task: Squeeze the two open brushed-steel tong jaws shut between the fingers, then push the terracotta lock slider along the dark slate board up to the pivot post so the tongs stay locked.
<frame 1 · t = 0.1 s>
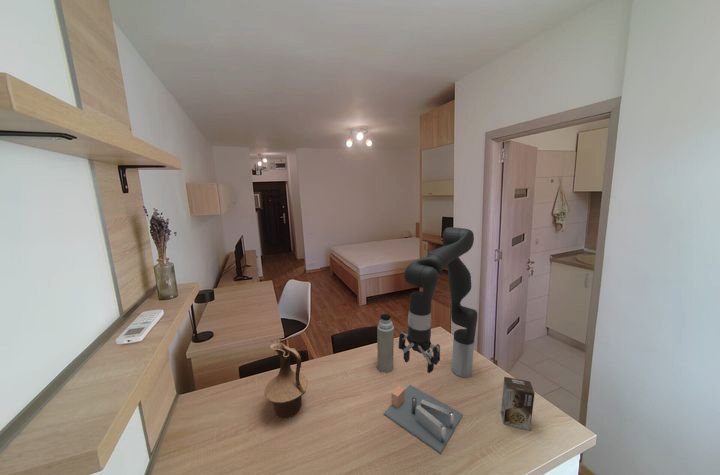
hand: (417, 366, 91), 29 cm above the table, fingers open, 8 cm apart
thermos bottle: (385, 367, 133), on the table
lock slider: (398, 396, 110), point 4 cm above the table, slide at 0.0 cm
pitcher: (288, 408, 110), on the table
jaw 2: (436, 413, 102), point 4 cm above the table, hinge at 10.0°
pivot post: (413, 414, 106), resting on slate board
slate board: (423, 415, 105), on the table
coffee box: (514, 420, 103), on the table
jaw 1: (430, 423, 98), point 4 cm above the table, hinge at 10.0°
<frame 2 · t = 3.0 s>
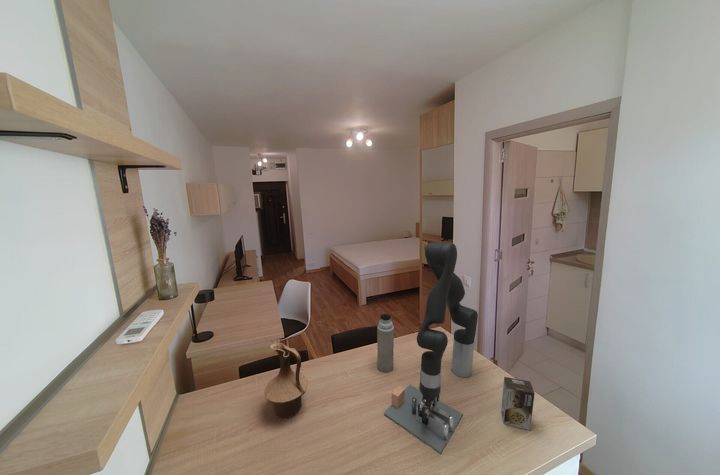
hand: (428, 418, 101), 2 cm above the table, fingers open, 5 cm apart
jaw 2: (436, 415, 101), point 4 cm above the table, hinge at 4.0°, touching gripper
jaw 1: (432, 422, 98), point 4 cm above the table, hinge at 4.2°, touching gripper
everything else where it was.
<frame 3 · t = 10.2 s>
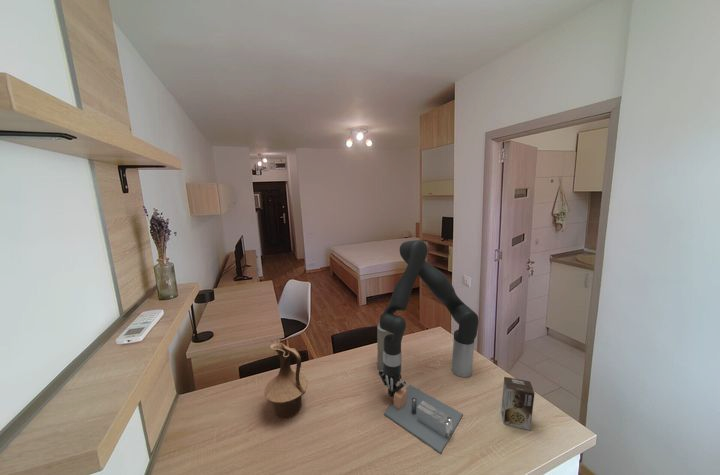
hand: (391, 395, 113), 2 cm above the table, fingers closed
lock slider: (400, 398, 109), point 4 cm above the table, slide at 1.1 cm, touching gripper
jaw 2: (435, 417, 100), point 4 cm above the table, hinge at -0.9°
jaw 1: (433, 421, 99), point 4 cm above the table, hinge at -0.6°
everything else where it was.
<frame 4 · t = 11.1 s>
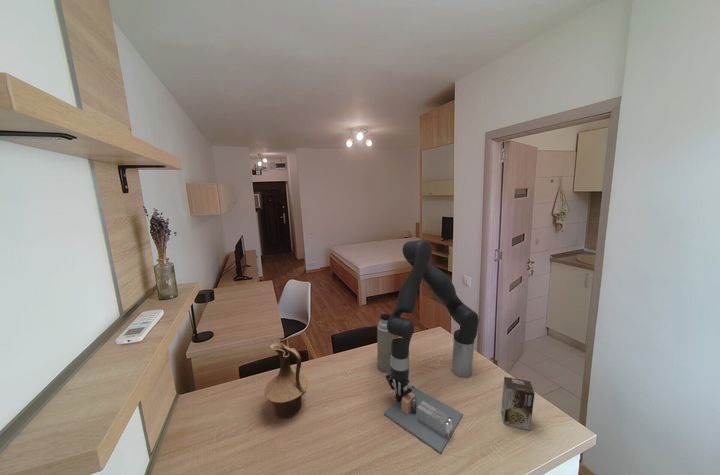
hand: (399, 400, 110), 2 cm above the table, fingers closed
lock slider: (408, 402, 107), point 4 cm above the table, slide at 4.8 cm, touching gripper
everything else where it was.
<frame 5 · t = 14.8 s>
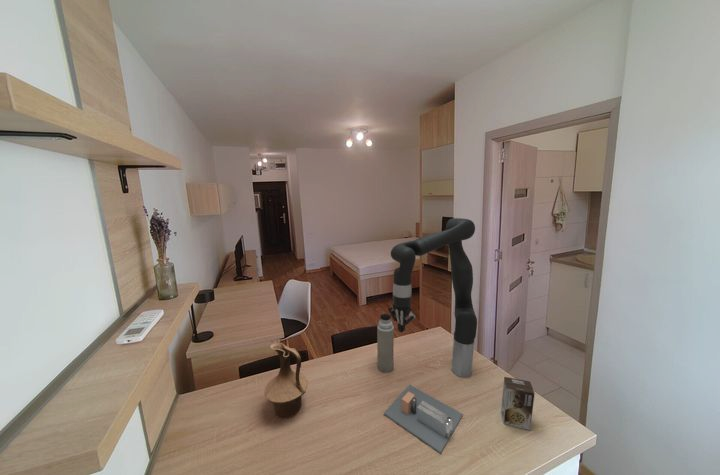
hand: (401, 331, 112), 29 cm above the table, fingers closed
lock slider: (408, 402, 107), point 4 cm above the table, slide at 4.8 cm
everything else where it was.
at the end: jaw 2 at -1° (first picture: +10°); jaw 1 at -1° (first picture: +10°); lock slider slide at 4.8 cm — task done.
